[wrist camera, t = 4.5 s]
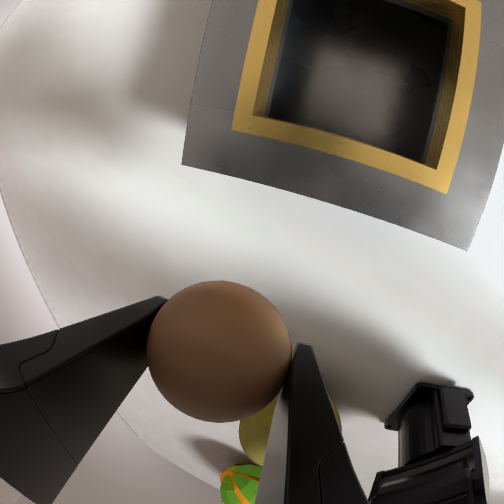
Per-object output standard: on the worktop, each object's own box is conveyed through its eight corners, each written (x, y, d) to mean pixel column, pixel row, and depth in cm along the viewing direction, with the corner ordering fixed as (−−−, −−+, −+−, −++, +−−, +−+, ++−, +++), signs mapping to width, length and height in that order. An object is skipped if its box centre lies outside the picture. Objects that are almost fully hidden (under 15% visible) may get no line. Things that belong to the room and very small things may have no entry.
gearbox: (429, 207, 16) (480, 267, 9) (235, 149, 18) (161, 170, 11) (469, 1, 9) (525, -49, 2) (278, -49, 11) (235, -122, 4)
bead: (285, 370, 10) (255, 464, 7) (183, 336, 11) (128, 412, 7) (316, 278, 8) (293, 381, 5) (189, 241, 9) (107, 312, 6)
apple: (342, 421, 24) (332, 486, 18) (259, 413, 27) (236, 473, 21) (349, 366, 22) (341, 442, 15) (250, 359, 24) (219, 426, 18)
